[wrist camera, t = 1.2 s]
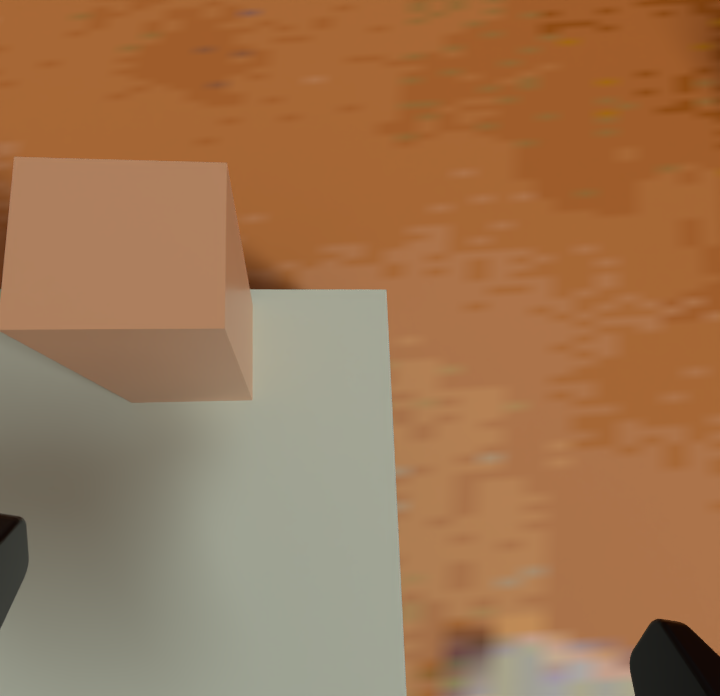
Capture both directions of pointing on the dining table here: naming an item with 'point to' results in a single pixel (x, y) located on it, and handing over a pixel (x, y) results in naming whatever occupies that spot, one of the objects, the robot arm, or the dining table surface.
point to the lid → (188, 451)
